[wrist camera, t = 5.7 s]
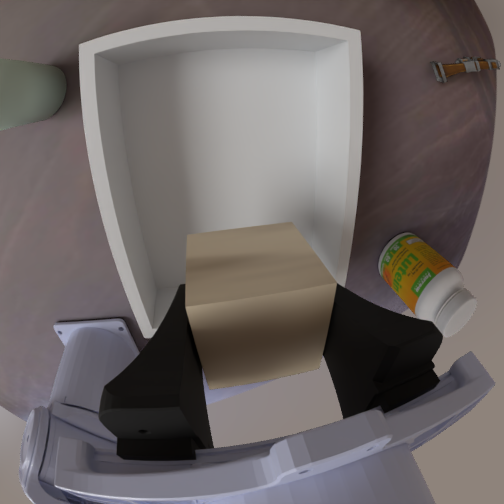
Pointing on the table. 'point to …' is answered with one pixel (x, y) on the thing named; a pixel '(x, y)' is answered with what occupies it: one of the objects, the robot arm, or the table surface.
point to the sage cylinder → (29, 92)
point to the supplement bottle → (427, 283)
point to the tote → (221, 140)
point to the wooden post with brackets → (463, 67)
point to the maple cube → (256, 303)
